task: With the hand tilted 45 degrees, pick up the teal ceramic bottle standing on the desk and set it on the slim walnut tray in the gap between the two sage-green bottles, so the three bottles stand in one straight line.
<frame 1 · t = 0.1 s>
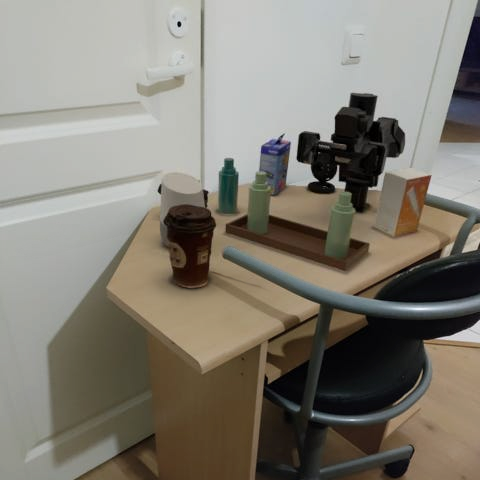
hand: (325, 162, 95), 17 cm above the table, tool horizontal, fingers open, 9 cm apart
ink cartridge box: (272, 190, 132), on the table
webcam: (320, 190, 133), on the table
teal bottle: (227, 212, 116), on the table
smart speaker: (184, 246, 99), on the table
coffee cup: (190, 281, 87), on the table
small box: (395, 230, 111), on the table
tray: (294, 243, 102), on the table
controller: (183, 222, 110), on the table
sage bottle 2: (335, 254, 97), resting on tray
sage bottle 1: (257, 229, 106), resting on tray
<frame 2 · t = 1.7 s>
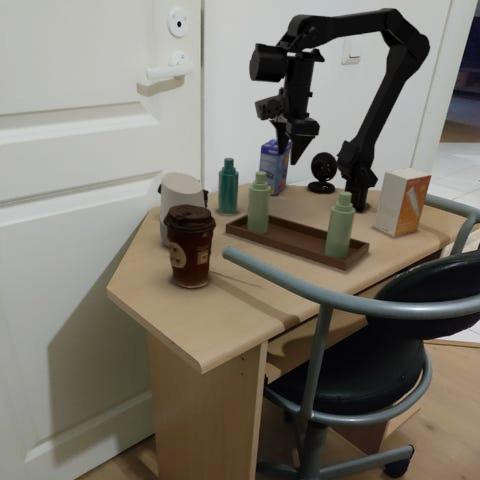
hand: (286, 159, 110), 13 cm above the table, tool pointing down, fingers open, 9 cm apart
nothing on the table moved.
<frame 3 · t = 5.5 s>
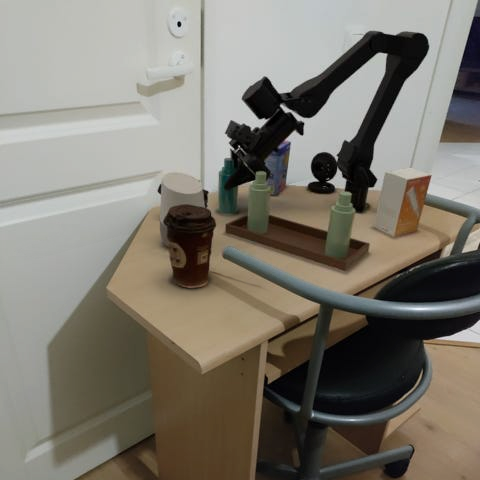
hand: (222, 185, 112), 7 cm above the table, tool tilted 45°, fingers closed on teal bottle, 4 cm apart
teal bottle: (227, 212, 116), on the table, touching gripper
everything else where it was.
when the fingers open (7 cm above the table, at t = 14.8 s): teal bottle stays where it is, resting on tray.
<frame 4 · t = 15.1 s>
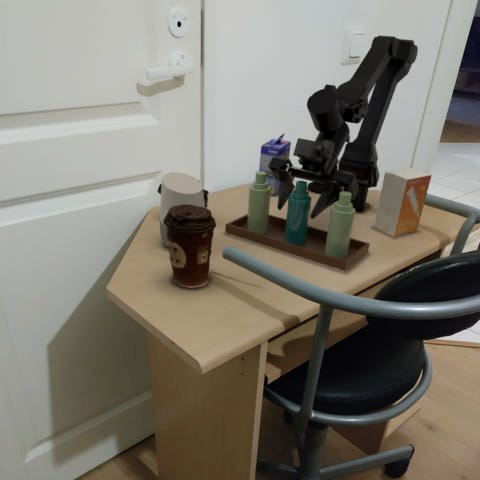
hand: (294, 213, 97), 7 cm above the table, tool tilted 45°, fingers open, 7 cm apart
teal bottle: (295, 241, 102), point 1 cm above the table, touching tray
everything else where it was.
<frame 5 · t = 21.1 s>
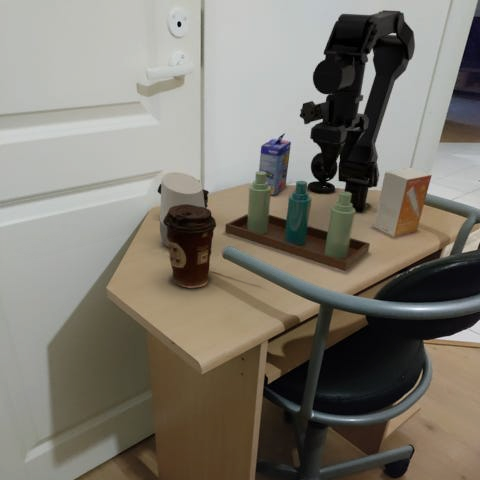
hand: (335, 168, 104), 13 cm above the table, tool pointing down, fingers open, 9 cm apart
nothing on the table moved.
at the end: teal bottle 0.1 cm from the target spot, point 0.5 cm above the table; teal bottle tilted 0°; sage bottle 1 moved 0.0 cm from its start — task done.
